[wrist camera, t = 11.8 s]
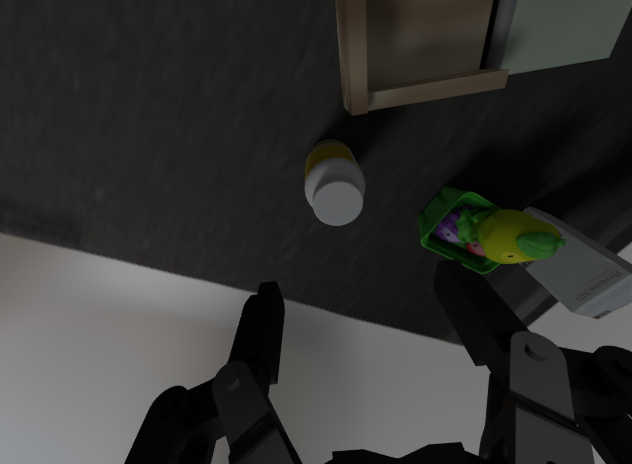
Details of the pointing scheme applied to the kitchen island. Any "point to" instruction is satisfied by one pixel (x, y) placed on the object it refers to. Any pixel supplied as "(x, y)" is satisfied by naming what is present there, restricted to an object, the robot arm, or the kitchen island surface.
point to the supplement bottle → (334, 183)
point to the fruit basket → (484, 232)
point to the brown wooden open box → (412, 51)
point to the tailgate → (554, 32)
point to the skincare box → (582, 272)
